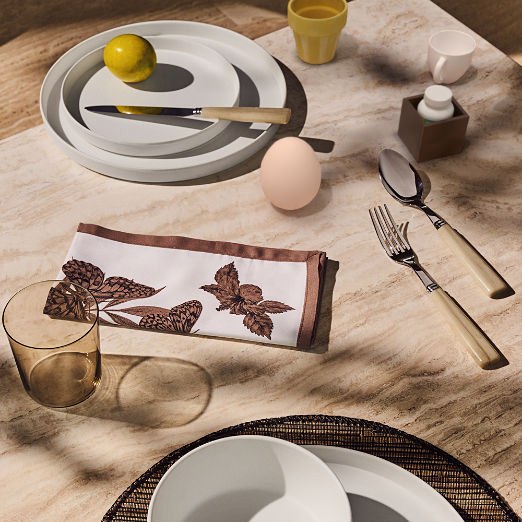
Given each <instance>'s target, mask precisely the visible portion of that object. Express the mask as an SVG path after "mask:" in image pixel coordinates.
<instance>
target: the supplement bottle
mask: <svg viewBox="0 0 522 522" xmlns="http://www.w3.org/2000/svg"><path fill="white" fill-rule="evenodd" d="M424 93H425V94H424ZM424 93H423V94H424V99H423V100H422V101H421V102H420V103H419V105H418V109H417V112H418V114H419V115H420V116H421V117H422V119H423V120H424V121H425V123H426V124H427V123H431V122H436V121H440V120H445V119H449V118H452V117H453V112H454V107H453V104H452V103H451V99H452V96H453V91H452V90H451V89H450V88H449V87H447V86H444V85H441V84H435V85H430V86H428V87H427V88H425V90H424Z"/></svg>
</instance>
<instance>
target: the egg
mask: <svg viewBox="0 0 522 522" xmlns="http://www.w3.org/2000/svg"><path fill="white" fill-rule="evenodd" d="M259 168H260V169H259V183H260V186H261V187H260V188H261V190H262V192H263V194H264V196H265V197H266V199H267V200H268V201H269V202H270V203H271V204H273V205H274V206H275V207H277V208H280V209H282V210H287V211H293V210H295V211H296V210H299V209H301V208H304V207H305V206H307V205H308V204H310V203H311V202H312V201H313V200H314V198H316V196H317V194H318V192H319V191H320V190H319V189H320V187H321V183H322V168H321V163H320V160H319V157H318V155H317V154H316V152H315V150H314V149H313V147H312V146H311V145H310V144H309V143H308V142H306V141H305V140H304V139H301V138H299V137H296V136H285V137H282V138H280V139H278V140H276V141H275V142H274V143H273V144H271V146H270V147H269V148H268V150H267V151H266V153H265V154H264V156H263V158H262V160H261V163H260V167H259Z"/></svg>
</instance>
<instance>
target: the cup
mask: <svg viewBox="0 0 522 522" xmlns="http://www.w3.org/2000/svg"><path fill="white" fill-rule="evenodd" d="M476 49H477V41H476V40H475V38H474V37H473V36H472V35H470V34H468V33H466V32H463V31H460V30H455V29H454V30H453V29H445V30H440V31H437V32H435V33H433V34H432V35H431V36H430V37H429V40H428V46H427V54H426V56H427V58H426V59H427V66H428V68H429V69H428V70H429V71H430V73H431V75H432V79H433V82H434V83H435V84H438V85H441V84H445V85H448V84H453V83H456V82H457V81H458V80H459V79H461V78H462V77H463V76H464V75H465V73H467V71H468V70H469V68H470V66H471V64H472V62H473V59H474V56H475V52H476Z"/></svg>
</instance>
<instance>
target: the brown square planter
mask: <svg viewBox="0 0 522 522" xmlns="http://www.w3.org/2000/svg"><path fill="white" fill-rule="evenodd" d="M424 94H425V92H423V93H420V94H415V95H411V96H407V97H402V101H401V108H400V115H399V121H398V127H397V136H398V137H399V139H400V140H401V142H402V143H403V144H404V146H405V147H406V148H407V150H408V152H409V153H410V155H411V157H412V158H413V159H414V160H415V162H416V163H417V164H420V163H423V162H427V161H432V160H436V159H441V158H444V157H449V156H453V155H456V154H457V155H458V154H461V153H462V149H463V145H464V142H465V137H466V133H467V130H468V125H469V121H470V118H471V116H470V115H469V114H468V112H467V111H466V110H465V108H463V106H462V105H461V104H460V103H459V101H458V100H457V99H456V98H455V96H453V95H452V99H451V103H452V104H453V107H454V112H453V117H452V118H449V119H445V120H440V121H436V122H431V123H427V124H426V123H425V121H424V120H423V119H422V117H421V116H420V115H419V114H418V112H417V109H418V105H419V103H420V102H421V101H422V100H423V99H424Z"/></svg>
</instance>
